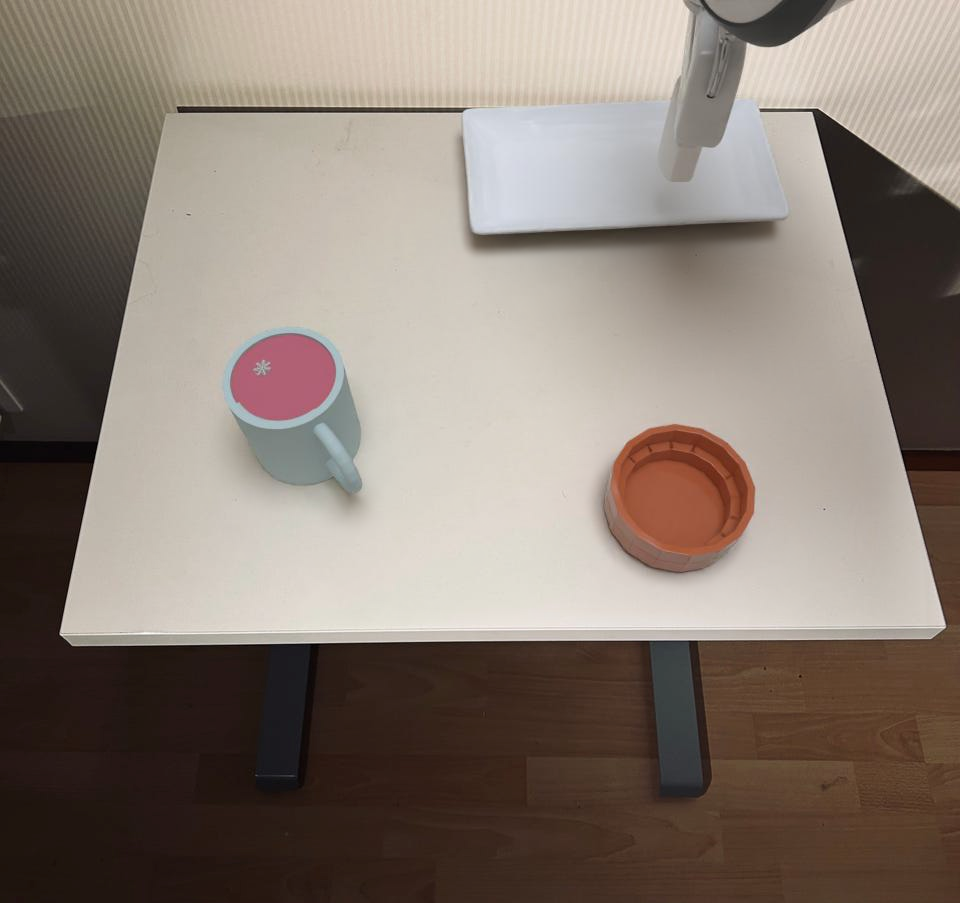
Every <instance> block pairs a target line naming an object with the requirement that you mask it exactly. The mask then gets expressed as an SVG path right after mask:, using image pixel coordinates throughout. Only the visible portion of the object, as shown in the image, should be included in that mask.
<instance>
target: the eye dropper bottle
mask: <svg viewBox="0 0 960 903" xmlns="http://www.w3.org/2000/svg"><path fill="white" fill-rule="evenodd" d="M680 80H681V74H680V75H679V76H678V78H677V79H676V82H675V84H674V87H673V91H672V94H671V98H670V100H671V102H670V106H669V110H668V114H667V118H666V122H665V126H664V130H663V133H662V137H661V141H660V145H659V150H658V163H659V167H660V170H661V172H662V174H663V175H664V177H665V178H666V179H667V180H668V181H670V182H689V181H690V180H691V179H692V178H693V175H694V173H695V170H696V166H697V163H698V160H699V157H700V154H701V150H702V147H695V148H686V147H680V146H679V145H677V142H676V141H675V140H674V126H675V118H676V111H677V103H678V95H679V87H680Z"/></svg>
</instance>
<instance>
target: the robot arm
mask: <svg viewBox="0 0 960 903" xmlns="http://www.w3.org/2000/svg"><path fill="white" fill-rule="evenodd" d="M853 1H854V0H682V2H683V4H684V5H685V7H686V8H687V9H688V18H687V26H686V32H685V33H686V34H685V41H684V47H683V57H682V65H681V72H680V75H681V80H680V87H679V95H678V103H677V111H676V118H675V126H674V140H675V141H676V142H677V145H679V146H680V147H686V148H695V147H705V148H714V147H716V146H717V145H718V144H719V143H720V142H721V140H722V138H723V136H724V133H725V130H726V126H727V123H728V120H729V117H730V113H731V110H732V107H733V104H734V100H735V98H737V93H738V90H739V86H740V84H741V80H742V75H743V70H744V66H745V60H746V54H747V47H748V46H747V45H748V44H750V45H753V46H755V47H759V48H775V47H776V48H777V47H780V46H783V45H785V44H787V43H789V42H791V41H792V40H794V39H796V38H797V37H799V36H800V35H802V34H803V33H804V32H806V31H808V30H809V29H811V28H812V27H814V26H815V25H817V24H818V23H820V22H821V21H822V20H823V19H824V18H825V17H827V16H829V15H831V14H832V13H834V12H836V11H837V10H839V9H841V8H843V7H845V6H847V5H848V4H850V3H851V2H853Z"/></svg>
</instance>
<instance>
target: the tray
mask: <svg viewBox="0 0 960 903" xmlns="http://www.w3.org/2000/svg"><path fill="white" fill-rule="evenodd" d="M670 102H671V99H657V100H656V99H655V100H633V101H631V100H630V101H611V102H609V101H608V102H589V103H588V102H587V103H586V102H585V103H566V104H544V105H543V104H542V105H541V104H540V105H521V106H520V105H519V106H502V107H501V106H497V107H496V106H493V107H474V108H472V107H471V108H466V109H465V110H463V111H462V113H461V117H460V122H461V123H460V124H461V134H462V143H463V150H464V151H463V152H464V154H463V155H464V165H465V175H466V176H465V178H466V191H467V206H468V210H467V211H468V219H469V220H468V221H469V227H470V230H471V232H472V233H473V234H475V235H479V236H480V235H483V236H486V235H510V234H511V235H512V234H513V235H514V234H531V233H534V234H535V233H549V232H551V233H552V232H570V231H571V232H572V231H573V232H574V231H589V230H590V231H592V230H593V231H595V230H615V229H630V228H631V229H632V228H633V229H634V228H635V229H636V228H651V227H667V226H686V225H704V224H705V225H706V224H726V223H729V224H730V223H755V222H757V223H758V222H775V221H777V222H778V221H784V220H787V218H789V216H790V212H791V211H790V206H789V201H788V199H787V196H786V193H785V189H784V186H783V183H782V180H781V176H780V174H779V171H778V167H777V164H776V161H775V158H774V154H773V151H772V147H771V144H770V141H769V136H768V134H767V131H766V130H767V129H766V127H765V123H764V120H763V117H762V113H761V110H760V108H759V105H758V102H757V101H756V100H754V99H751V98H744V97H735V100H734V104H733V107H732V110H731V113H730V117H729V120H728V123H727V126H726V130H725V133H724V136H723V138H722V140H721V142H720V143H719V144H718V145H717V146H716V147H714V148H705V147H702V150H701V154H700V157H699V160H698V163H697V166H696V170H695V173H694V175H693V178H692V179H691V180H690V181H689V182H670V181H668V180H667V179H666V178H665V177H664V175H663V174H662V172H661V170H660V167H659V163H658V150H659V145H660V141H661V137H662V133H663V130H664V126H665V122H666V118H667V114H668V110H669V106H670Z"/></svg>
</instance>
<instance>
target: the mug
mask: <svg viewBox="0 0 960 903" xmlns="http://www.w3.org/2000/svg"><path fill="white" fill-rule="evenodd" d="M221 378H222V379H221V388H222V395H223V398H224V400H225V402H226V405H227V407H228V408H229V410H230V412H231V414H232V415H233V418H234V419H235V421H236V423H237V425H238V426H239V428H240V430H241V431H242V433H243V435H244V437H245V439H246V440H247V443H248V445H249V446H250V448H251V450H252V451H253V453H254V455H255V457H256V458H257V460H258V462H259V465H260V466H261V467H262V469H263V470H264V471H265V472H266V473H267V474H269V475H270V476H271V477H273V478H274V479H275V480H278V481H279V482H282V483H285V484H289V485H294V486H311V485H316V484H320V483H323V482H325V481H328V480H330V479H332V478H334V479H335V480H336V481H337V483H338V484H339V485H340V486H341V487H342V488H343V489H344V490H345V491H346V492H347V493H349V494H358V493H359V492H360V491H361V490H362V488H363V480H362V477H361V474H360V472H359V470H358V468H357V466H356V464H355V462H354V461H353V460H354V458H355V457H356V455H357V453H358V451H359V448H360V444H361V439H362V428H361V423H360V420H359V417H358V413H357V409H356V405H355V402H354V401H355V400H354V398H353V394H352V391H351V387H350V383H349V378H348V376H347V372H346V368H345V364H344V361H343V357H342V356H341V353H340V351H339V350H338V348H337V347H336V345H335V344H334V343H333V342H332V341H331V340H330V339H328V337H326V336H325V335H323V334H322V333H320V332H318V331H316V330H313V329H309V328H306V327H301V326H280V327H274V328H270V329H267V330H264V331H262V332H258V333H257V334H255V335H253V336H252V337H250V338H248V339H247V340H246V341H245V342H243V343H242V344H241V345H239V346H238V347H237V348H236V349H235V351H234V352H233V353H232V354H231V356H230V358H228V361H227V362H226V364H225V367H224V370H223V374H222V377H221Z"/></svg>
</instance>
